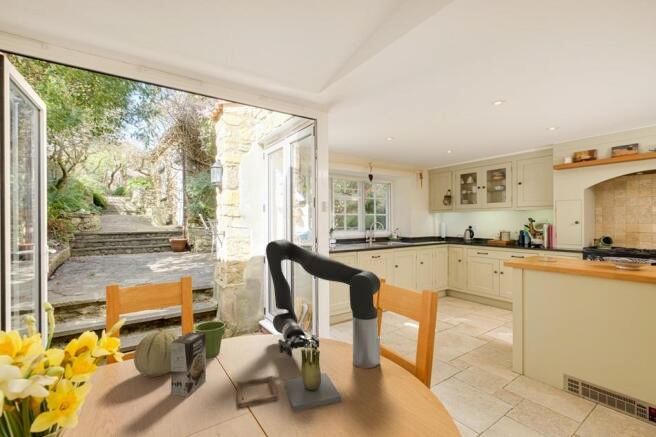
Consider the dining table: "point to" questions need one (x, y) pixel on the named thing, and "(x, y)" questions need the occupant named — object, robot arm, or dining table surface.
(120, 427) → the dining table surface
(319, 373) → the fennel bulb
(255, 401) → the walnut collar
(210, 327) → the plant pot
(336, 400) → the slate board
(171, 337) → the cantaloupe
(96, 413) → the dining table surface
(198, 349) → the coffee box
